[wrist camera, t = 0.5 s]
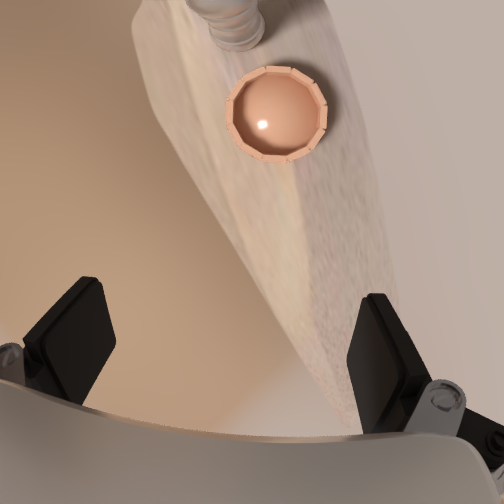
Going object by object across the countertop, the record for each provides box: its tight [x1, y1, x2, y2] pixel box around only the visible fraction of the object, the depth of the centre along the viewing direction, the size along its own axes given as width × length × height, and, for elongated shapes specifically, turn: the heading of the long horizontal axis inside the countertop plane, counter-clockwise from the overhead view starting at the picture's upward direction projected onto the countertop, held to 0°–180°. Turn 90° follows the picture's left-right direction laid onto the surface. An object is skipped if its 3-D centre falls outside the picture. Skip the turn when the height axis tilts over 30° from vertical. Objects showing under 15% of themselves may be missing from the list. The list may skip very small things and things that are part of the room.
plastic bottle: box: [185, 0, 265, 52], centre depth 22 cm, size 6×7×20 cm
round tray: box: [226, 66, 328, 163], centre depth 33 cm, size 12×12×3 cm
